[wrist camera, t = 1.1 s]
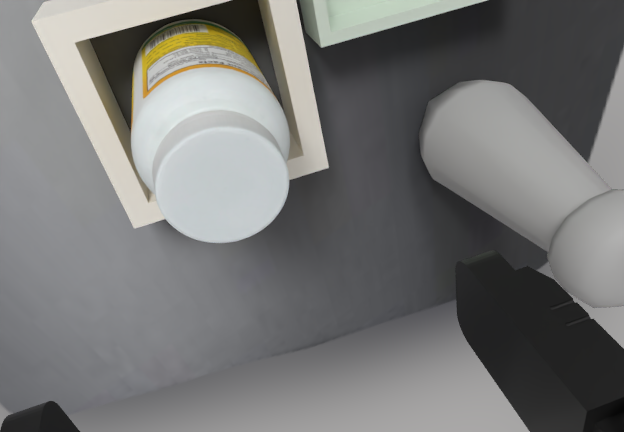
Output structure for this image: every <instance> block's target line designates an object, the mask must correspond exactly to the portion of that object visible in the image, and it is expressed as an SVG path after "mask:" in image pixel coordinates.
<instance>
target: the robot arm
mask: <svg viewBox="0 0 624 432" xmlns="http://www.w3.org/2000/svg"><path fill="white" fill-rule="evenodd" d="M455 272H456V300H457V316H458V321H459V324H460V327H461V330H462V332H463V334H464V336H465V338H466V340H467V342H468V343H469V345H470V346H471V348H472V349H473V350H474V352H475V353H476V355H477V356H478V358H479V359H480V360H481V362H482V363H483V365H484V366H485V368H486V369H487V371H488V372H489V373H490V375H491V376H492V378H493V379H494V381H495V382H496V383H497V385H498V386H499V388H500V389H501V391H502V392H503V393H504V395H505V396H506V398H507V399H508V401H509V402H510V404H511V405H512V407H513V408H514V409H515V411H516V412H517V414H518V415H519V417H520V418H521V419H522V421H523V422H524V424H525V425H526V427H527V428H528V430H529V431H530V432H624V349H623V348H622V347H621V346H620V345H619V344H618V343H617V342H616V341H615V340H614V339H613V338H612V337H611V336H610V335H609V334H608V333H607V332H606V331H605V330H604V329H603V328H602V327H601V326H600V325H599V324H598V323H597V322H596V321H595V320H594V319H590V317H589V315H588V313H587V312H586V311H585V310H584V309H583V308H582V307H581V306H580V305H579V304H578V303H575V302H574V301H573V298H572V297H571V296H570V295H569V294H568V293H567V292H566V291H565V290H564V289H563V288H562V287H561V286H560V285H559V284H558V283H557V282H556V281H555V280H554V279H552V278H549V277H548V276H546V275H544V274H542V273H539V272H538V271H536V270H534V269H532V268H530V267H528V266H527V267H524V268H521V269H518V270H514V269H513V268H512V267H511V266H510V265H509V263H508V262H507V261H506V260H505V259H504V258H503V257H502V256H501V255H500V254H499V253H498V252H496V251H493V250H491V251H488V252H485V253H482V254H480V255H477V256H474V257H471V258H468V259H465V260H462V261H459V262H457V264H456V268H455ZM0 432H80V431H79V430H78V429H77V427H76V426H75V425H74V424H73V423H72V421H71V420H70V419H69V417H68V416H67V415H66V414H65V413H64V411H63V410H62V409H61V408H60V406H59V405H58V404H57V403H55V402H53V401H49V402H46V403H43V404H40V405H37V406H34V407H31V408H28V409H25V410H23V411H20V412H17V413H14V414H11V415H8V416H7V417H6V418H5V419H4V421H3V423H2V427H1V430H0Z"/></svg>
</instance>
